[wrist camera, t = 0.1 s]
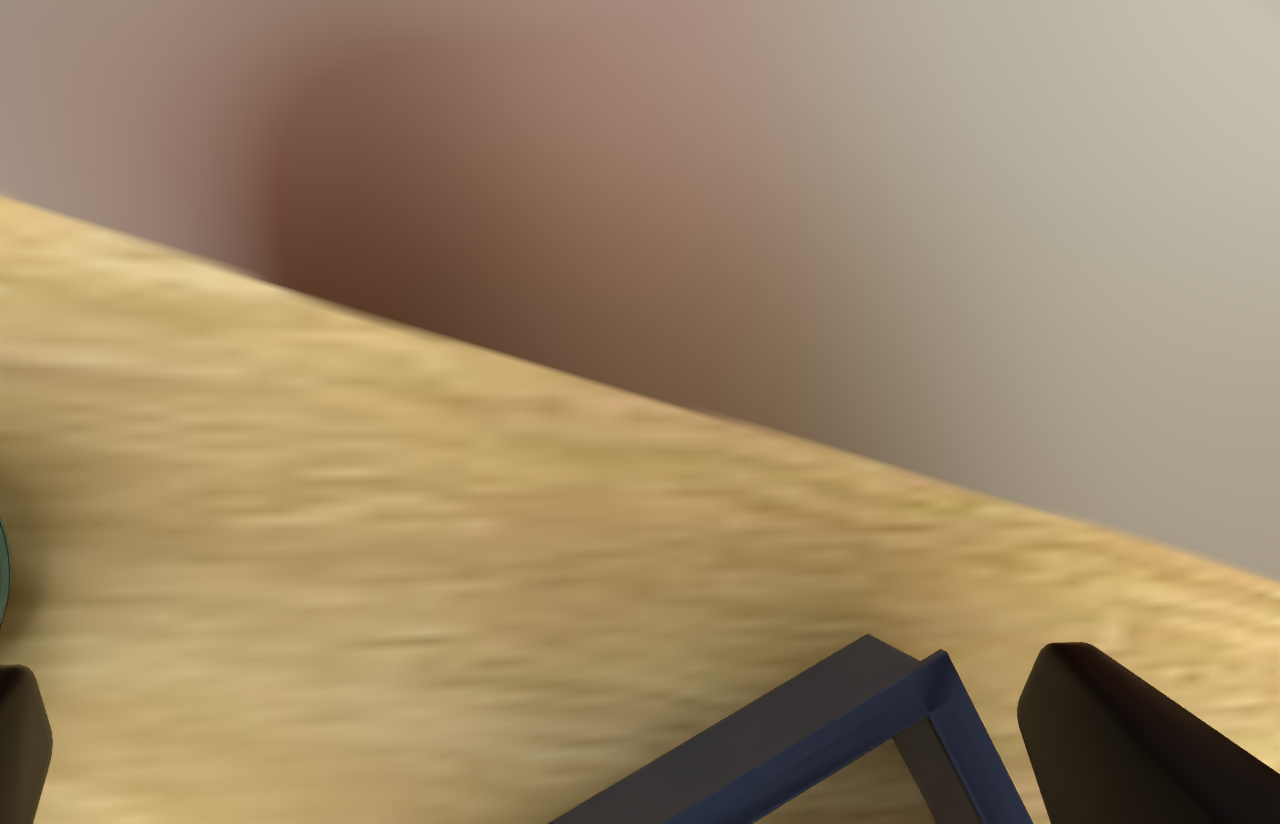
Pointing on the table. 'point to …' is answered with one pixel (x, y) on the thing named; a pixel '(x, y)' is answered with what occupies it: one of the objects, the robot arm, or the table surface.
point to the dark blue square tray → (825, 747)
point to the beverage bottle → (4, 571)
